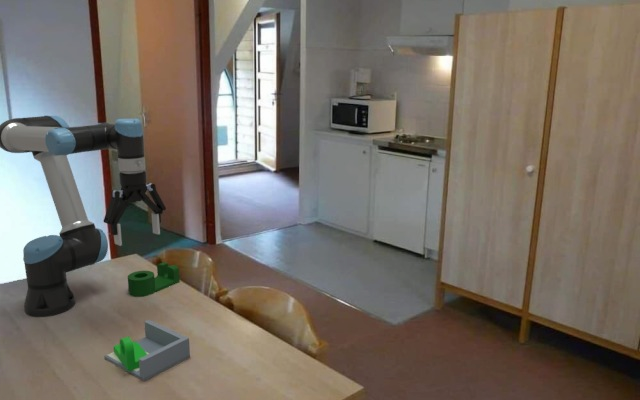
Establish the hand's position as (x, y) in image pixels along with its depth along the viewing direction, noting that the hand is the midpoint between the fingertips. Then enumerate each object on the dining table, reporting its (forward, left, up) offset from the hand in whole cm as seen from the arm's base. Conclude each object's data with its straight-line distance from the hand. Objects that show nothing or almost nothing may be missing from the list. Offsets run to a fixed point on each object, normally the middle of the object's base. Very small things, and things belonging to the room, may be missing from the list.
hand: (138, 239), depth 167 cm
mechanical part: (+19, -18, -26) cm, 37 cm away
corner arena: (+21, -14, -27) cm, 37 cm away
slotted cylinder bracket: (-19, +17, -27) cm, 37 cm away
